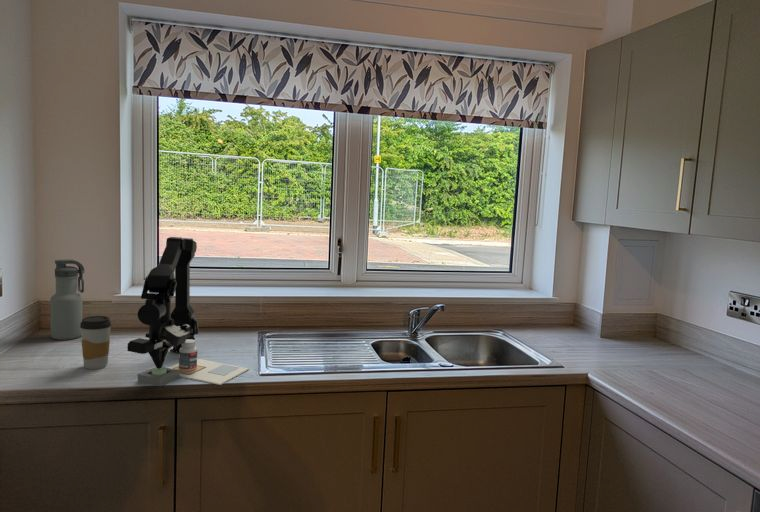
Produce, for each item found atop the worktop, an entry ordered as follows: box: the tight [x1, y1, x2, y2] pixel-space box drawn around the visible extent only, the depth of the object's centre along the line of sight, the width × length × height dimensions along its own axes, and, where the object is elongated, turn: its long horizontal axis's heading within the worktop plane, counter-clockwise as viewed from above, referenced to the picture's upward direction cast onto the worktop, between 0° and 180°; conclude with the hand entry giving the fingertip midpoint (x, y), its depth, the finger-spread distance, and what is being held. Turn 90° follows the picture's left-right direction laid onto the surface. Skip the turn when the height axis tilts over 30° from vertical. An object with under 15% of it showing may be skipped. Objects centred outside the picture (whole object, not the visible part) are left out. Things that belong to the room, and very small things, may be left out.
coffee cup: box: [80, 315, 112, 370], centre depth 155 cm, size 8×8×15 cm
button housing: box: [137, 367, 181, 387], centre depth 148 cm, size 8×8×2 cm
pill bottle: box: [178, 339, 198, 371], centre depth 157 cm, size 5×5×9 cm
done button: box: [151, 365, 168, 376], centre depth 148 cm, size 4×4×2 cm
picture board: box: [167, 358, 250, 386], centre depth 157 cm, size 22×15×1 cm
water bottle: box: [49, 258, 85, 341], centre depth 181 cm, size 10×10×28 cm
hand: (159, 368), depth 148 cm, fingers closed
